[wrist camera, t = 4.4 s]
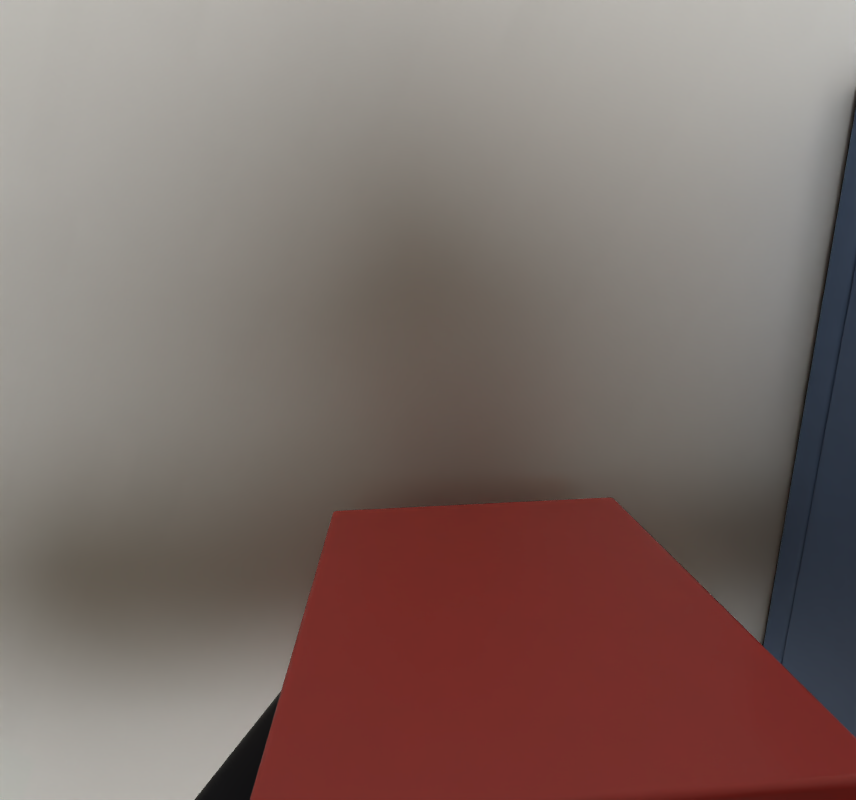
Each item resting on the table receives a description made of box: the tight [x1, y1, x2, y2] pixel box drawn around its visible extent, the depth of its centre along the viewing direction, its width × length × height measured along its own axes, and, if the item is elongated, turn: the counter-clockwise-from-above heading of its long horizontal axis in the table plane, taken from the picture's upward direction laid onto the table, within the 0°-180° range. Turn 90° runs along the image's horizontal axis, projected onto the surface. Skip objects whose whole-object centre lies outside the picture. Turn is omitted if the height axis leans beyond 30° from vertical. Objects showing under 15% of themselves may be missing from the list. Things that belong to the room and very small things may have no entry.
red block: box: [250, 497, 856, 800], centre depth 6 cm, size 4×4×4 cm
